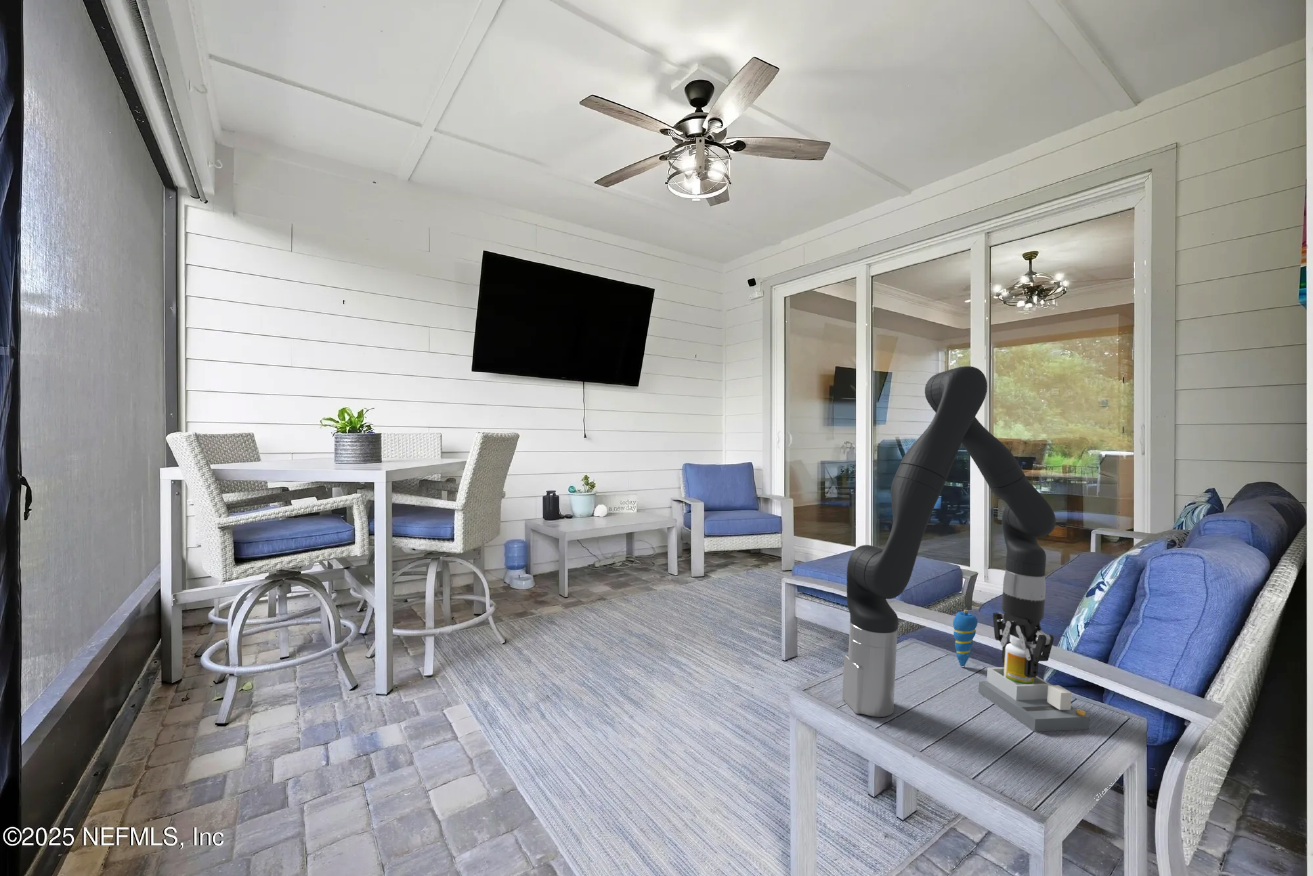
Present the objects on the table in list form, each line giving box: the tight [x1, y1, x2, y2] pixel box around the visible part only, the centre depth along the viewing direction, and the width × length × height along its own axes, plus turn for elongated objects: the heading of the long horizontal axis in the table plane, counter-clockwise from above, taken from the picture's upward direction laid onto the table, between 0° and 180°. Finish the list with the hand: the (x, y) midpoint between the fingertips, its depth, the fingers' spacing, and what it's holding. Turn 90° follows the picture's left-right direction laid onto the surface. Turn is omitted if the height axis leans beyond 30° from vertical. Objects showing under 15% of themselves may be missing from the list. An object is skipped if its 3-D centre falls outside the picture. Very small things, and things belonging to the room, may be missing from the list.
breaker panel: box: [978, 666, 1090, 733], centre depth 112 cm, size 12×15×6 cm
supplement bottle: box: [1003, 635, 1034, 685], centre depth 115 cm, size 5×5×10 cm
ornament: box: [952, 607, 978, 667], centre depth 131 cm, size 5×5×15 cm
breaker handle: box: [1047, 684, 1073, 710], centre depth 109 cm, size 2×3×4 cm
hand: (1018, 669), depth 116 cm, fingers closed on supplement bottle, 5 cm apart
